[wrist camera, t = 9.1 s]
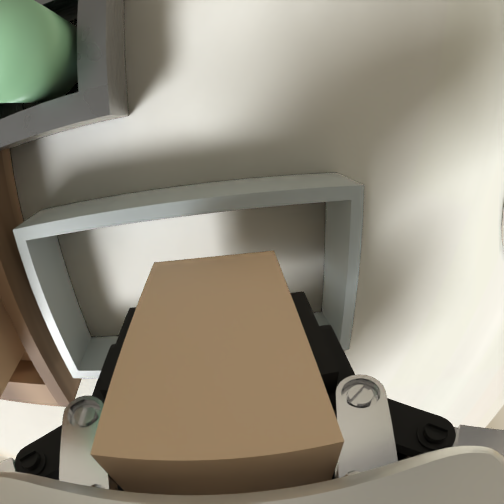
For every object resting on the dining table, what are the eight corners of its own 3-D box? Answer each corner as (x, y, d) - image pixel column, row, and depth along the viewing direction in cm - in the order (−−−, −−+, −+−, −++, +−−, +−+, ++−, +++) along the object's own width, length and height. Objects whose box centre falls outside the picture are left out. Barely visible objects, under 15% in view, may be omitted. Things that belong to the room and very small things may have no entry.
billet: (273, 250, 12) (344, 440, 4) (276, 343, 14) (318, 512, 6) (153, 262, 11) (90, 454, 4) (176, 352, 13) (160, 522, 6)
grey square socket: (124, -14, 10) (108, -39, 7) (129, 115, 12) (110, 114, 10) (6, 29, 9) (-25, 19, 6) (9, 148, 12) (-24, 157, 9)
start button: (88, 12, 9) (40, -26, 5) (89, 90, 11) (34, 80, 6) (17, 39, 9) (-44, 22, 4) (18, 113, 10) (-48, 119, 6)
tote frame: (336, 172, 15) (364, 185, 12) (330, 317, 18) (349, 349, 16) (41, 209, 13) (12, 229, 11) (86, 345, 17) (73, 378, 14)
